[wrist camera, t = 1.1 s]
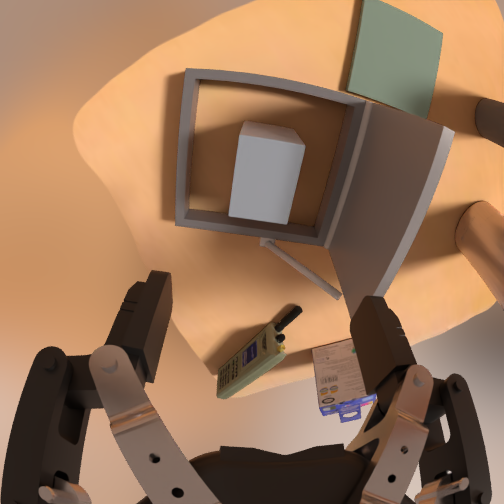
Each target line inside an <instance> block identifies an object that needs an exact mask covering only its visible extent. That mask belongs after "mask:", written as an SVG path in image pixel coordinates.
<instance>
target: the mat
mask: <svg viewBox="0 0 504 504" xmlns="http://www.w3.org/2000/svg"><path fill="white" fill-rule="evenodd" d="M442 38H443V33H441V32H440V31H438V30H436V29H435V28H433V27H431V26H430V25H428V24H426V23H425V22H423V21H421V20H419V19H417V18H415V17H414V16H412V15H410V14H408V13H406V12H404V11H402V10H400V9H398V8H395V7H393V6H391V5H389V4H387V3H384V2H382V1H380V0H362V6H361V12H360V18H359V24H358V30H357V36H356V41H355V47H354V52H353V57H352V62H351V67H350V72H349V77H348V82H347V86H346V91H350V92H353V93H356V94H359V95H362V96H365V97H368V98H371V99H374V100H376V101H379V102H382V103H384V104H387V105H390V106H392V107H395V108H397V109H400V110H402V111H404V112H407V113H410V114H413V115H416V116H419V117H422V118H424V119H427V116H428V112H429V108H430V104H431V100H432V95H433V91H434V86H435V81H436V76H437V71H438V65H439V59H440V53H441V46H442Z"/></svg>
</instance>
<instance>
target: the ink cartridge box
mask: <svg viewBox="0 0 504 504" xmlns="http://www.w3.org/2000/svg"><path fill="white" fill-rule="evenodd" d="M312 355H313V363H314V371H315V378H316V387H317V395H318V403H319V409H320V411H321V413H322V415H323V416H326V415H331V414H335V413H339V416H340V420H341V423H343V422H347V421H352V420H356V419H360V418H361V410H360V407H362V406H365V405H368V404H372V403H374V401H375V400H376V394H373V395H366V390H365V386H364V382H363V378H362V374H361V370H360V366H359V362H358V358H357V355H356V351H355V347H354V344H353V340H352V339H349V340H345V341H342V342H338V343H334V344H330V345H326V346H322V347H318V348H313V349H312ZM355 411H356V412H358V414H357V415H355V416H353V417H349V418H348V417H343V415H344V414H347V413H351V412H355Z"/></svg>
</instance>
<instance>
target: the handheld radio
mask: <svg viewBox="0 0 504 504" xmlns="http://www.w3.org/2000/svg"><path fill="white" fill-rule="evenodd" d="M301 313H302V308H301V307H300V306H296V307H295V308H294V309H293V310H291V311H290V312H289V313H288V314H287V315H286V316H285V317H284V318H283V319H282V320H281V322H280V323H278V324H276V323H274V322H271V323H269V324H268V325H267V326H266V327H265V328H264V329H263V330H262V331H261V332H260V333H259V334H258V335H256V336H255V337H254V338H253V339H252V340H251V341H250V342H249V343H248V344H247V345H246V346H245V347H243V348H242V349H241V350H240V351H239V352H238V353H237V354H236V355H235V356H233V357H232V358H231V359H230V360H229V361H228V362H227V363H226V364H224V365H223V366H222V367H221V368H220V369H219V370H218V380H217V398H221V399H227V398H229V397H231V396H232V395H234V394H235V393H237V392H238V391H240V390H241V389H243V388H244V387H246V386H247V385H249V384H250V383H252V382H253V381H254V380H256V379H257V378H259V377H260V376H262V375H263V374H264V373H266V372H267V371H269V370H270V369H271V368H273V367H274V366H275V365H277V364H278V363H280V362H281V361H282V360H283V359H284V358H285V356H286V355H287V354H285V353H284V349H285V346H284V345H283V341H284V340H285V335H284V334H282V330H283V329H284V327H285V326H287V325H288V324H289V323H291V322H292V321H293V320H294V319H295V318H296V317H297V316H298V315H300V314H301Z"/></svg>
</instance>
